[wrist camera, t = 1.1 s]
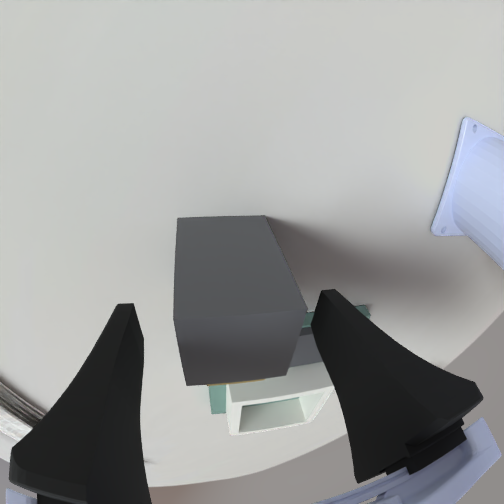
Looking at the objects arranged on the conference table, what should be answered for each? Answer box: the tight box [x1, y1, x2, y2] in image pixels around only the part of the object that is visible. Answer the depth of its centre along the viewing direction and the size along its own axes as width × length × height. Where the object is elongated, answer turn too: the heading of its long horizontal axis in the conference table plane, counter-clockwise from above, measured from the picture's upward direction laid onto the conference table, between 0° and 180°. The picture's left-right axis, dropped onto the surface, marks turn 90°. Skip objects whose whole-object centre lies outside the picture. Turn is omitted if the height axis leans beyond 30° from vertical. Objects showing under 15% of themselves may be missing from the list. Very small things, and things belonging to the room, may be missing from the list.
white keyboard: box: [0, 382, 46, 441], centre depth 22 cm, size 12×4×40 cm
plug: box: [173, 215, 308, 386], centre depth 12 cm, size 4×4×6 cm
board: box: [209, 305, 371, 436], centre depth 20 cm, size 11×12×4 cm
